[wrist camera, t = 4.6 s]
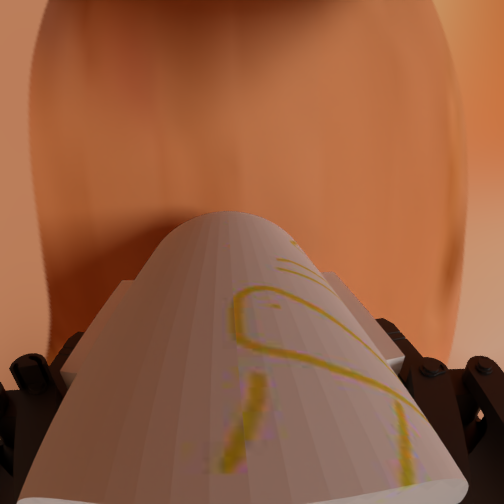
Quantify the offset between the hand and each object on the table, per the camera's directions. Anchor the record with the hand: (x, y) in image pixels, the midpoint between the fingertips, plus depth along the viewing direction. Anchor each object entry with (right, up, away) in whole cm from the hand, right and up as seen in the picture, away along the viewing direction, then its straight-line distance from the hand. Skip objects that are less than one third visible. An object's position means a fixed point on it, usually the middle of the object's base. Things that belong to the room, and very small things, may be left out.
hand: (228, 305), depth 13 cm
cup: (0, 0, +1) cm, 1 cm away
